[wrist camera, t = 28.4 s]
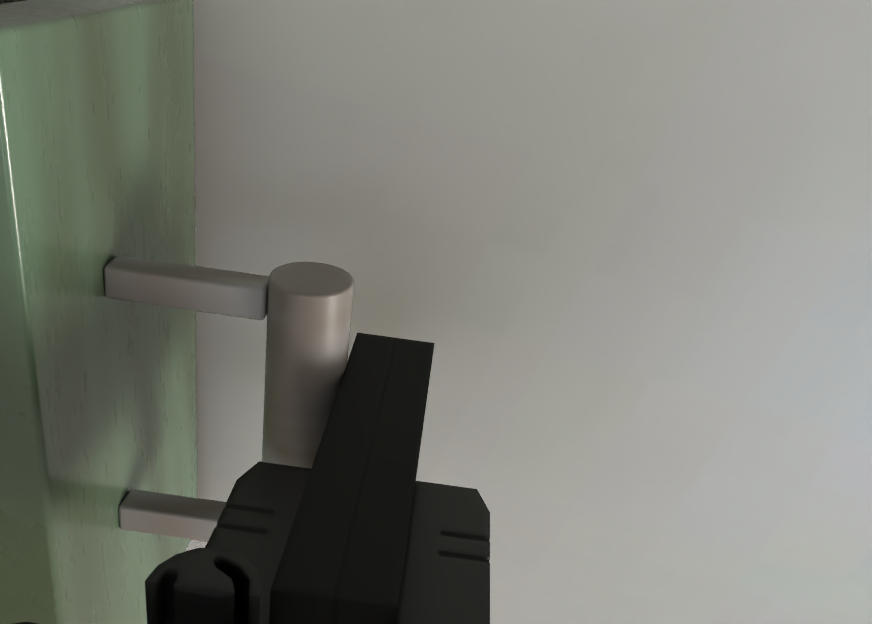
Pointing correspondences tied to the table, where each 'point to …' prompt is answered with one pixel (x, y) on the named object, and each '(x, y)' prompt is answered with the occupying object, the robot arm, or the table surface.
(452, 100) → the table surface
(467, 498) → the robot arm
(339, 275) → the drawer
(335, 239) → the table surface
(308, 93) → the table surface
